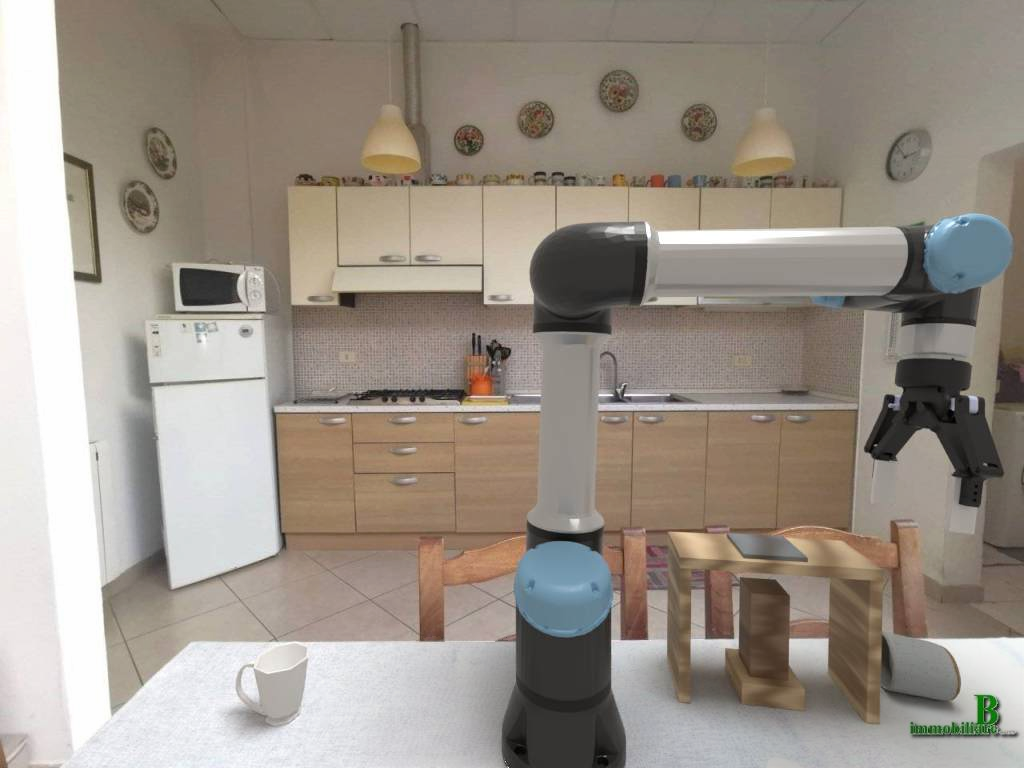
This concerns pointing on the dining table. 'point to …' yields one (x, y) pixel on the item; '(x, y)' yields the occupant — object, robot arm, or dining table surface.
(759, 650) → the walnut block
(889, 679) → the ceramic mug
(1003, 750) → the dining table surface
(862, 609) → the wooden side table
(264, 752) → the dining table surface
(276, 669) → the cup
